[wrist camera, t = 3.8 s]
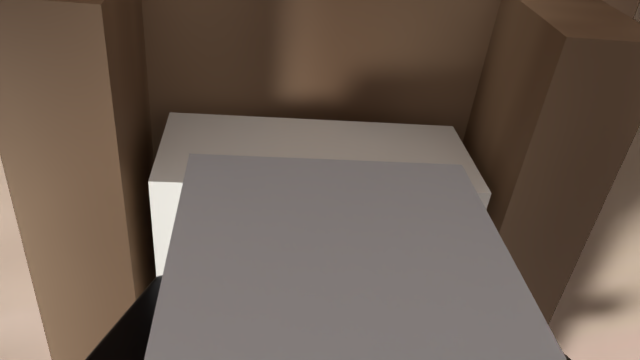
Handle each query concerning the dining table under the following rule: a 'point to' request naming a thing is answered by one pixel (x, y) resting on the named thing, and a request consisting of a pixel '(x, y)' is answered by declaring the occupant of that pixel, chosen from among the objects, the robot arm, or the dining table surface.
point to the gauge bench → (301, 117)
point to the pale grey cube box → (330, 246)
